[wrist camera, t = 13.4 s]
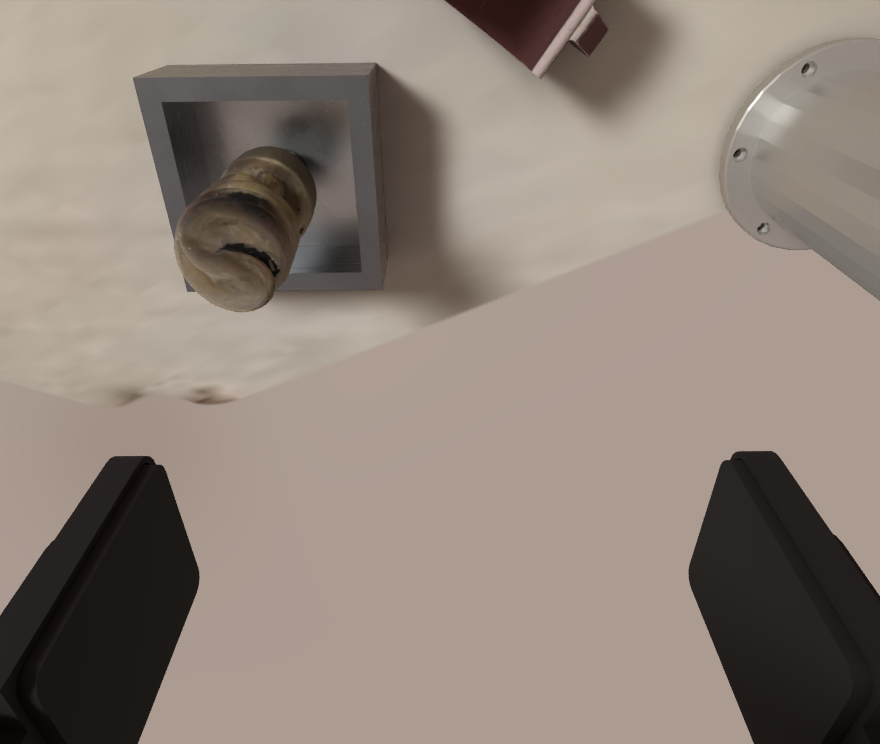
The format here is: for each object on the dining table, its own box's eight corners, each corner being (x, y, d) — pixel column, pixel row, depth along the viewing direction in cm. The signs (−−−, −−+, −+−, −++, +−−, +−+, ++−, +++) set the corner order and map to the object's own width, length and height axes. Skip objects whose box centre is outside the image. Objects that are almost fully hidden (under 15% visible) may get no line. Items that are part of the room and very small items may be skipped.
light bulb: (330, 218, 42) (284, 330, 29) (247, 209, 41) (165, 318, 29) (332, 131, 39) (281, 213, 26) (242, 120, 38) (147, 199, 26)
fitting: (376, 62, 37) (367, 75, 33) (387, 258, 44) (382, 289, 39) (167, 65, 37) (132, 77, 33) (211, 260, 44) (187, 291, 39)
